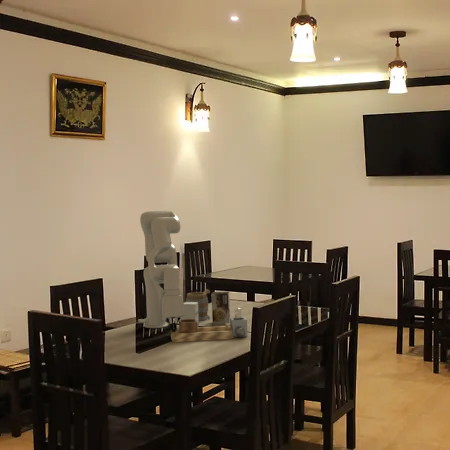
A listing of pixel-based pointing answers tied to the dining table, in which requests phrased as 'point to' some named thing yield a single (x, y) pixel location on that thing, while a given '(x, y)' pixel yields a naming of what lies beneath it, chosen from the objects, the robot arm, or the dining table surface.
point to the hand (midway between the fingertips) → (173, 331)
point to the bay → (204, 334)
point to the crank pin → (238, 313)
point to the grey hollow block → (239, 327)
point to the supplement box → (191, 311)
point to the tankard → (200, 303)
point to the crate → (188, 326)
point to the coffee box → (220, 307)
